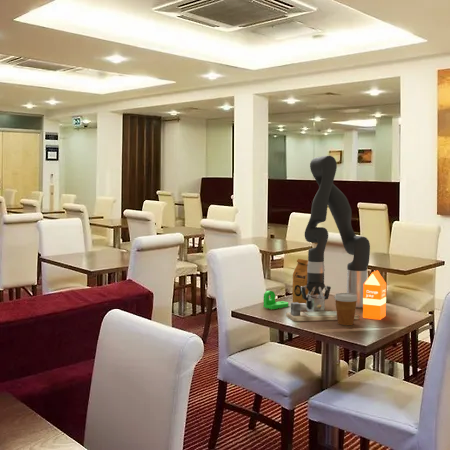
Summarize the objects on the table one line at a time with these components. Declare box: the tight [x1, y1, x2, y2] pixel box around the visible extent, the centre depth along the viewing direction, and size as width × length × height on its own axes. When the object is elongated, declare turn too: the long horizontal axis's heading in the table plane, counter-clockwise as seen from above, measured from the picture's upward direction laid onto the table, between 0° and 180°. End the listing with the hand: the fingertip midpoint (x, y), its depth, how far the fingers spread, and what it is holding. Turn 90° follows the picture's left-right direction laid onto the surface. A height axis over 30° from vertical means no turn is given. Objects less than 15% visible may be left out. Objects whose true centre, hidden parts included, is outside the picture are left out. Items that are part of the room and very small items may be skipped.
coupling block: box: [306, 295, 326, 312], centre depth 262 cm, size 5×11×7 cm, turn 11°
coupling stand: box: [285, 301, 360, 322], centre depth 251 cm, size 29×11×6 cm, turn 100°
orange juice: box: [362, 270, 387, 321], centre depth 252 cm, size 8×9×20 cm
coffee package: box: [292, 258, 318, 304], centre depth 278 cm, size 10×12×22 cm
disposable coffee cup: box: [334, 292, 358, 326], centre depth 239 cm, size 10×10×12 cm
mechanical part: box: [263, 290, 289, 310], centre depth 273 cm, size 12×6×8 cm, turn 127°
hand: (315, 308), depth 263 cm, fingers closed on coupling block, 5 cm apart
